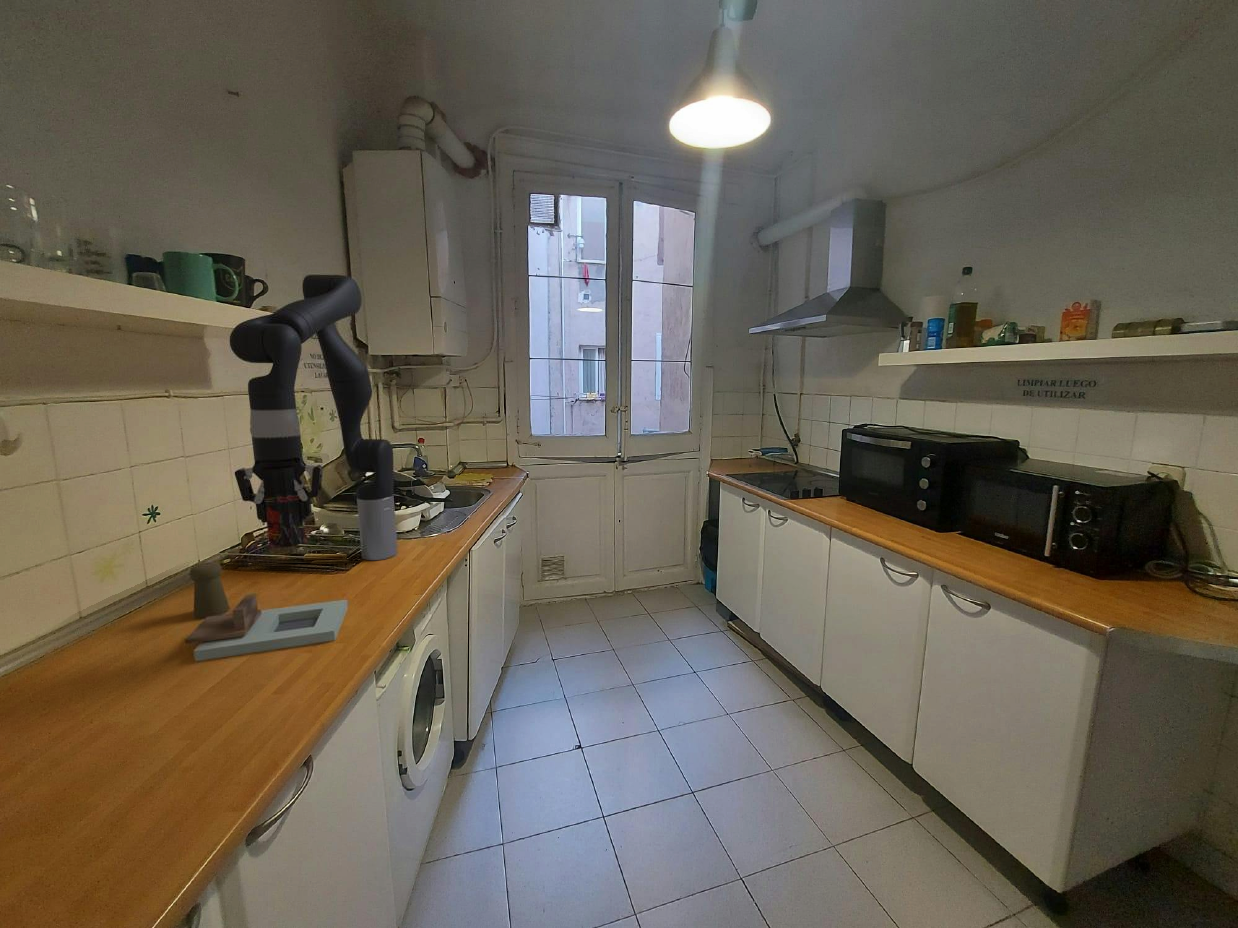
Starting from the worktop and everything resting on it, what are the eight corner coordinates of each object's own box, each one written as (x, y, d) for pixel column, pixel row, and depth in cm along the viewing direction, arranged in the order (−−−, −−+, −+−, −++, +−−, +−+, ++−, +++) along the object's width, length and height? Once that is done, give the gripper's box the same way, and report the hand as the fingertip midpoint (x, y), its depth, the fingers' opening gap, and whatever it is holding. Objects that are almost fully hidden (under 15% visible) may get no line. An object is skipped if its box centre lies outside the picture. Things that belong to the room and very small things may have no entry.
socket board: (226, 623, 100) (225, 614, 99) (347, 607, 107) (347, 599, 107) (195, 661, 87) (193, 651, 86) (335, 640, 94) (334, 630, 94)
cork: (214, 619, 101) (206, 569, 99) (185, 618, 101) (177, 569, 99) (237, 606, 107) (230, 558, 105) (210, 605, 107) (203, 558, 105)
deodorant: (310, 542, 95) (302, 467, 92) (273, 550, 90) (264, 470, 88) (301, 535, 99) (293, 463, 96) (265, 542, 94) (257, 466, 92)
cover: (207, 620, 96) (204, 597, 95) (261, 613, 99) (258, 591, 98) (185, 643, 88) (181, 619, 87) (245, 635, 91) (241, 611, 90)
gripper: (324, 430, 97) (331, 512, 100) (237, 432, 92) (247, 518, 95) (315, 434, 90) (323, 522, 93) (221, 436, 85) (232, 529, 88)
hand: (285, 519), depth 94 cm, fingers closed on deodorant, 6 cm apart
